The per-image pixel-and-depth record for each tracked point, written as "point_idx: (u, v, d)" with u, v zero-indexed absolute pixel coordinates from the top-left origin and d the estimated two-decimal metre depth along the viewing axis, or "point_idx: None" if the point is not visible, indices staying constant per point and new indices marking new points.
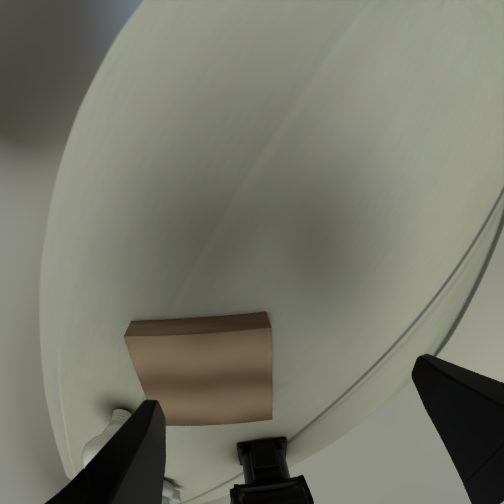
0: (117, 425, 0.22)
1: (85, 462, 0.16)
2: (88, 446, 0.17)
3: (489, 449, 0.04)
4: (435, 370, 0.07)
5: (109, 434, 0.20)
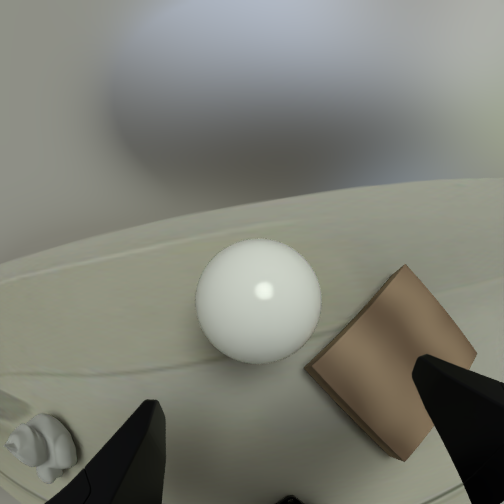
0: None
1: None
2: None
3: (489, 449, 0.04)
4: (435, 370, 0.07)
5: None
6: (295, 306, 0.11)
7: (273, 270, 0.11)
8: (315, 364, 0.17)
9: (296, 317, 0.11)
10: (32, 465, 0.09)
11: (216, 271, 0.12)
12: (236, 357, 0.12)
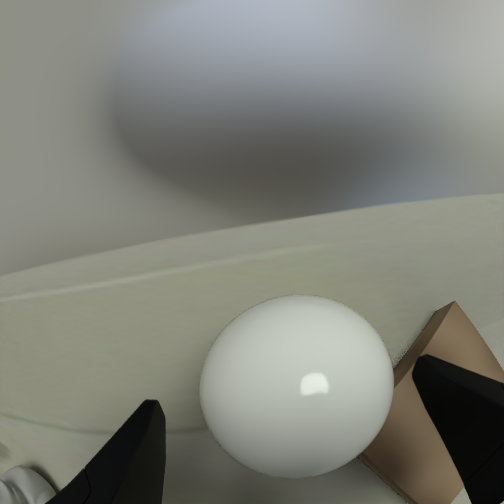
0: None
1: (325, 299, 0.08)
2: None
3: (489, 449, 0.04)
4: (435, 370, 0.07)
5: None
6: (369, 420, 0.05)
7: (341, 368, 0.06)
8: None
9: (367, 433, 0.05)
10: None
11: (237, 366, 0.06)
12: (265, 474, 0.06)
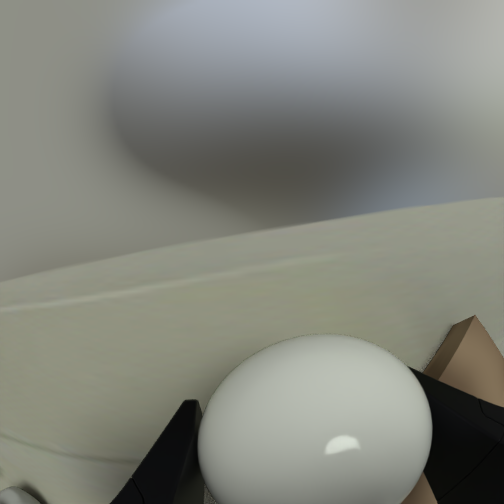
0: None
1: (359, 344, 0.06)
2: None
3: (463, 469, 0.04)
4: None
5: None
6: (406, 489, 0.03)
7: (383, 444, 0.03)
8: None
9: (401, 500, 0.03)
10: None
11: (246, 443, 0.04)
12: None
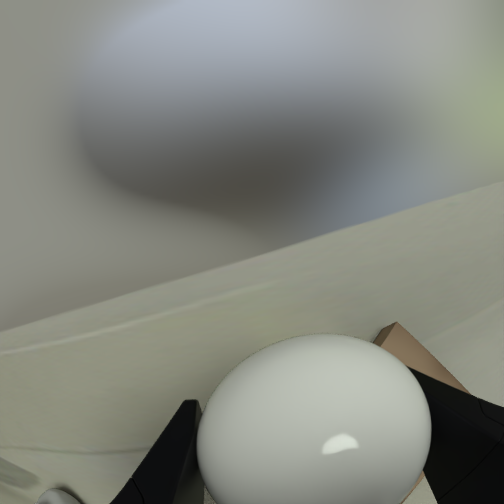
0: None
1: (358, 343, 0.06)
2: None
3: (463, 469, 0.04)
4: None
5: None
6: (405, 489, 0.03)
7: (382, 444, 0.03)
8: None
9: (401, 500, 0.03)
10: None
11: (245, 443, 0.04)
12: None
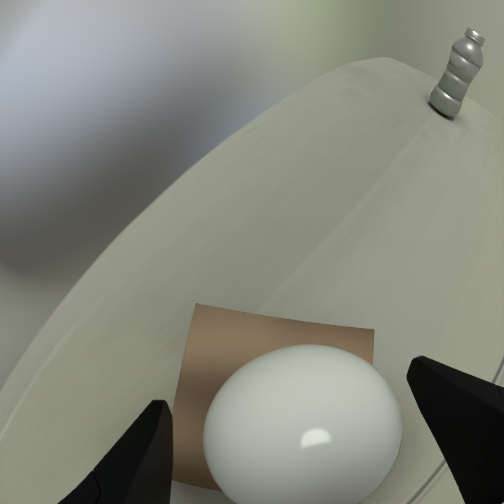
0: None
1: (337, 354, 0.07)
2: None
3: (484, 453, 0.04)
4: (430, 372, 0.07)
5: None
6: (375, 478, 0.04)
7: (350, 438, 0.05)
8: None
9: (372, 488, 0.04)
10: None
11: (242, 433, 0.05)
12: None
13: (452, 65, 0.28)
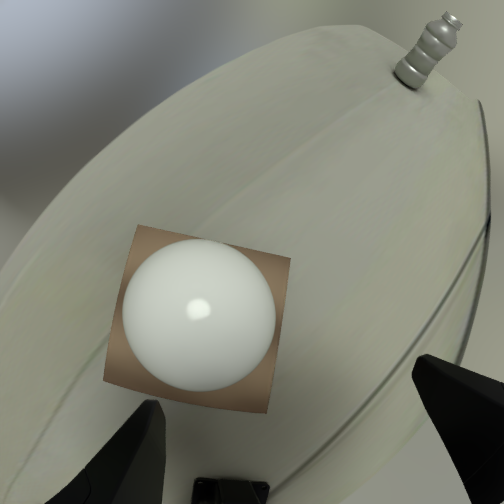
0: None
1: (218, 244, 0.10)
2: None
3: (489, 449, 0.04)
4: (435, 370, 0.07)
5: None
6: (239, 343, 0.08)
7: (213, 296, 0.08)
8: (104, 377, 0.16)
9: (239, 355, 0.09)
10: None
11: (142, 289, 0.09)
12: None
13: (422, 42, 0.29)
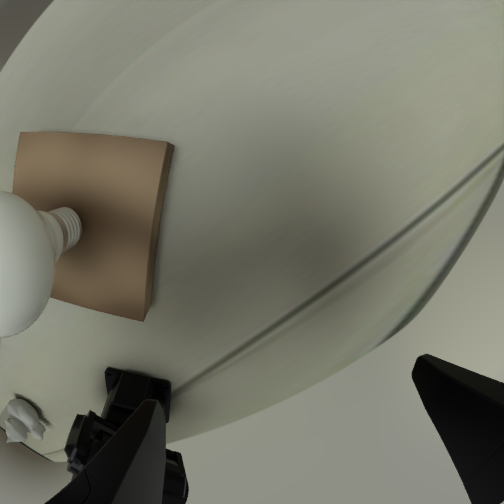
0: (60, 227, 0.12)
1: None
2: (6, 196, 0.07)
3: (489, 449, 0.04)
4: (435, 370, 0.07)
5: (47, 223, 0.10)
6: None
7: None
8: None
9: None
10: (22, 438, 0.17)
11: None
12: None
13: None
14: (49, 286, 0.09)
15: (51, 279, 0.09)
